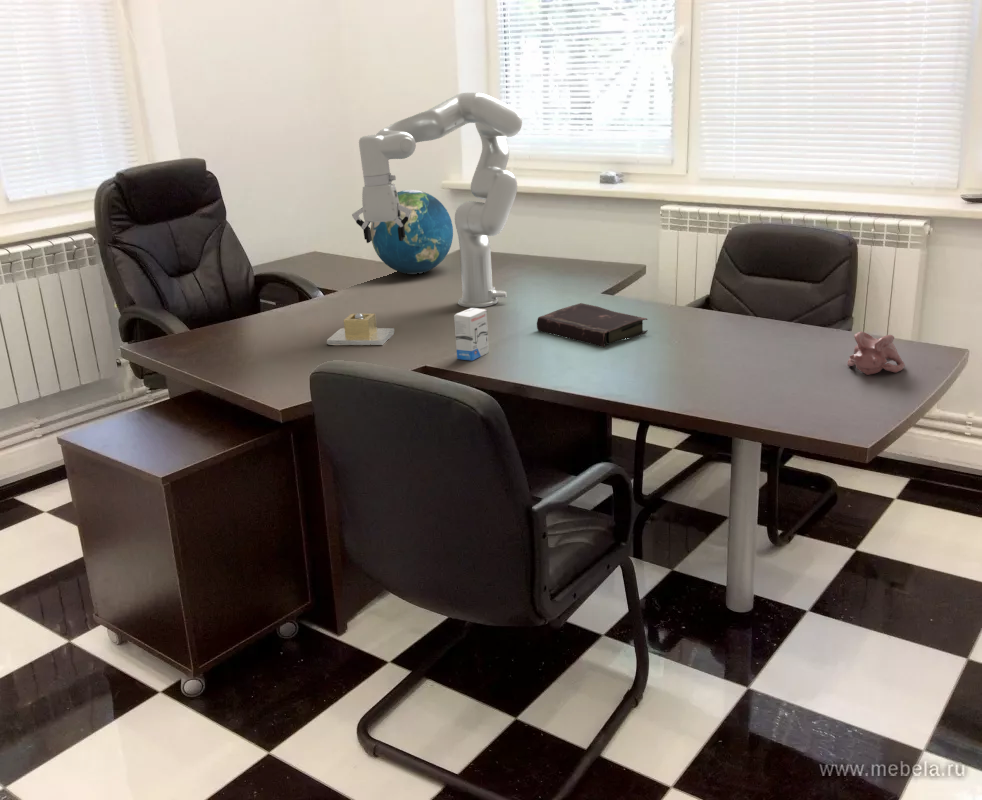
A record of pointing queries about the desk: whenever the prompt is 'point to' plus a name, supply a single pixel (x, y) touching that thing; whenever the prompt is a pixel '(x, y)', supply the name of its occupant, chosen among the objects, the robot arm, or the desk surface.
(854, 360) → the figurine
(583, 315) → the diary
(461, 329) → the ink box
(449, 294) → the desk surface
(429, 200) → the globe
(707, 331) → the desk surface
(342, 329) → the post block
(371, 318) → the tan block
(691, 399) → the desk surface
